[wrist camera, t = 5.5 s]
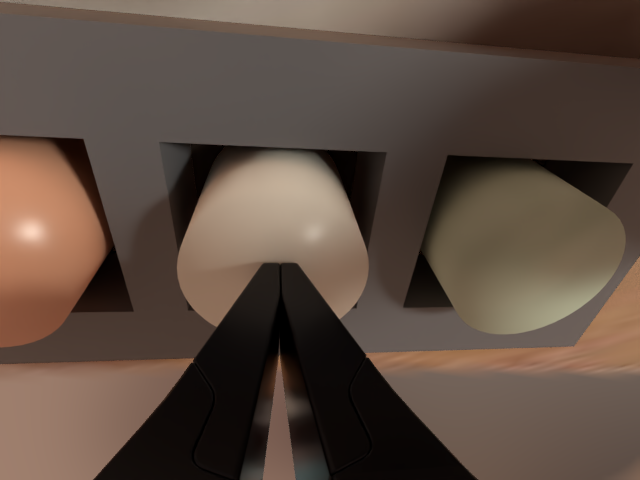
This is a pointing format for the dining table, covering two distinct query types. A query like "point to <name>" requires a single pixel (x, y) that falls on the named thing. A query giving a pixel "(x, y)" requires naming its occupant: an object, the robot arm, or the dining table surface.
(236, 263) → the beige domed piece
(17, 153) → the orange rounded dome
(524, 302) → the pale green egg
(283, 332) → the robot arm
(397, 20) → the dining table surface
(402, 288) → the egg tray
